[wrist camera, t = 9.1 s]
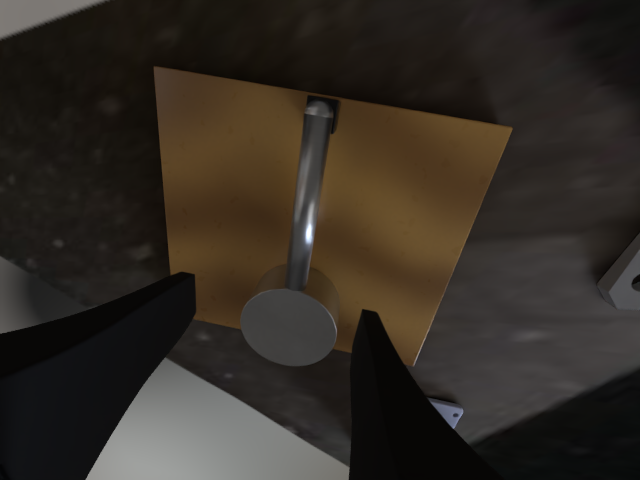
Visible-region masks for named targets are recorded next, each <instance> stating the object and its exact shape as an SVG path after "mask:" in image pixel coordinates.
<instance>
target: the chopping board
mask: <svg viewBox="0 0 640 480" xmlns="http://www.w3.org/2000/svg"><path fill="white" fill-rule="evenodd" d="M154 79H155V91H156V104H157V116H158V128H159V140H160V152H161V164H162V176H163V189H164V201H165V213H166V225H167V237H168V249H169V261H170V274H171V275H173V274H176V273H178V272H181V271H182V272H187V273H192V274H195V287H196V314H195V315H194V317H193V319H195V320H200V321H205V322H209V323H214V324H219V325H223V326H228V327H233V328H237V329H241V323H240V319H241V313H242V310H243V308H244V306H245V305H246V303H247V301H248V299H249V298H250V296H251V294H252V293H253V291H254V289H255V287H256V286H257V284H258V282H259V281H260V279H261V278H262V276H263V275H264V274H265V273H266V272H268V271H269V270H271V269H273V268H275V267H277V266H280V265H284V264H287V255H288V247H289V238H290V230H291V221H292V213H293V204H294V196H295V187H296V179H297V171H298V162H299V154H300V145H301V137H302V128H303V120H304V112H305V109H306V102H307V96H308V95H312V96H318V97H323V98H329V99H335V100H339V101H341V106H340V112H339V118H338V124H337V130H336V132H335V133H334V134H331V135H330V141H329V147H328V153H327V160H326V166H325V172H324V179H323V185H322V191H321V197H320V204H319V210H318V216H317V223H316V229H315V235H314V241H313V248H312V254H311V260H310V267H312V268H314V269H316V270H318V271H320V272H321V273H323V274H324V275H325V276H326V277H328V278H329V279H330V281H331V282H332V283H333V284H334V286H335V288H336V290H337V292H338V295H339V299H340V309H339V318H338V328H337V337H336V342H335V345H334V347H333V349H335V350H340V351H344V352H349V353H352V344H353V341H354V337H355V333H356V330H357V326H358V322H359V319H360V315H361V311H362V309H366V310H371V311H376V312H377V313H378V314H379V316H380V319H381V321H382V323H383V325H384V327H385V330H386V332H387V334H388V336H389V338H390V340H391V342H392V343H393V345H394V347H395V349H396V351H397V353H398V354H399V356H400V358H401V360H402V361H403V363H404V364H405V365H409V366H414V364H415V362H416V360H417V357H418V355H419V352H420V350H421V348H422V345H423V343H424V340H425V338H426V336H427V333H428V331H429V328H430V326H431V324H432V321H433V319H434V316H435V314H436V312H437V309H438V307H439V304H440V302H441V300H442V297H443V295H444V292H445V290H446V288H447V285H448V283H449V280H450V278H451V276H452V273H453V271H454V268H455V266H456V264H457V261H458V259H459V256H460V254H461V252H462V249H463V247H464V244H465V242H466V240H467V237H468V235H469V232H470V230H471V228H472V225H473V223H474V220H475V218H476V216H477V213H478V211H479V208H480V206H481V204H482V201H483V199H484V196H485V194H486V192H487V189H488V187H489V184H490V182H491V180H492V177H493V175H494V172H495V170H496V168H497V165H498V163H499V160H500V158H501V156H502V153H503V151H504V148H505V146H506V144H507V141H508V139H509V136H510V134H511V132H512V129H513V127H510V126H504V125H498V124H493V123H487V122H481V121H475V120H469V119H463V118H457V117H452V116H446V115H440V114H434V113H428V112H422V111H417V110H411V109H405V108H399V107H393V106H387V105H381V104H376V103H370V102H364V101H358V100H352V99H346V98H341V97H335V96H329V95H323V94H317V93H311V92H305V91H300V90H294V89H288V88H282V87H276V86H270V85H264V84H259V83H253V82H247V81H241V80H235V79H229V78H224V77H218V76H212V75H206V74H200V73H194V72H188V71H183V70H177V69H171V68H165V67H159V66H154Z"/></svg>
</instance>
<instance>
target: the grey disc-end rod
mask: <svg viewBox="0 0 640 480" xmlns="http://www.w3.org/2000/svg"><path fill="white" fill-rule="evenodd" d="M340 106H341V101H339V100H335V99H329V98H323V97H318V96H312V95H308V96H307V102H306V109H305V112H304V120H303V128H302V137H301V145H300V154H299V162H298V171H297V179H296V187H295V196H294V204H293V213H292V221H291V230H290V238H289V247H288V255H287V264H284V265H280V266H277V267H275V268H273V269H271V270H269V271H268V272H266V273H265V274H264V275H263V276H262V278H261V279H260V281H259V282H258V284H257V286H256V287H255V289H254V291H253V293H252V294H251V296H250V298H249V299H248V301H247V303H246V305H245V306H244V308H243V310H242V313H241V319H240V323H241V330H242V333H243V335H244V337H245V339H246V341H247V342H248V344H249V345H250V346H251V347H252V348H253V349H254V350H255V351H256V352H257V353H258V354H260V355H261V356H263V357H264V358H266V359H268V360H270V361H272V362H275V363H278V364H282V365H287V366H305V365H310V364H313V363H316V362H318V361H320V360H322V359H323V358H324V357H326V356H327V355H328V354H329V353H330V351H331V350H332V349H333V347H334V345H335V342H336V337H337V328H338V318H339V309H340V299H339V295H338V292H337V290H336V288H335V286H334V284H333V283H332V282H331V281H330V279H329V278H328V277H326V276H325V275H324V274H323V273H321V272H320V271H318V270H316V269H314V268H312V267H310V260H311V254H312V248H313V241H314V235H315V229H316V223H317V216H318V210H319V204H320V197H321V191H322V185H323V179H324V172H325V166H326V160H327V153H328V147H329V141H330V135H331V134H334V133H335V132H336V130H337V124H338V118H339V112H340Z"/></svg>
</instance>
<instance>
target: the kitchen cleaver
mask: <svg viewBox="0 0 640 480" xmlns="http://www.w3.org/2000/svg"><path fill="white" fill-rule="evenodd" d="M639 274H640V233H639V234H638V235H637V237H636V238H635V239H634V240H633V241H632V242H631V244H630V245H629V246H628V247H627V248H626V250H625V251H624V252H623V253H622V254H621V256H620V257H619V258H618V259H617V260H616V262H615V263H614V264H613V265H612V266H611V268H610V269H609V270H608V271H607V272H606V273H605V275H604V276H603V277H602V278H601V279H600V281H599V282H598V283H597V286H598V288H599V290H600V292H601V294H602V296H603V298H604V300H605V301H606V302H608V303H609V304H610V305H612V306H613V307H615V308H616V309H619V310H640V282H638V283H636V284H632V281H633V279H634V278H635V277H636V276H637V275H639ZM631 284H632V285H631Z"/></svg>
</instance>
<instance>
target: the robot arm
mask: <svg viewBox="0 0 640 480" xmlns="http://www.w3.org/2000/svg"><path fill="white" fill-rule="evenodd" d="M195 314H196V287H195V274H192V273H187V272H182V271H181V272H178V273H176V274H173V275H171V276H169V277H166V278H164V279H162V280H160V281H157V282H155V283H153V284H151V285H148V286H146V287H144V288H142V289H139V290H137V291H135V292H133V293H130V294H128V295H125V296H123V297H120V298H118V299H115V300H113V301H110V302H108V303H106V304H103V305H100V306H98V307H95V308H92V309H89V310H86V311H83V312H81V313H77V314H74V315H71V316H68V317H65V318H62V319H57V320H54V321H50V322H47V323H43V324H39V325H36V326H32V327H28V328H24V329H20V330H15V331H11V332H7V333H2V334H0V480H85V479H86V478H87V476H88V474H89V472H90V470H91V469H92V467H93V465H94V463H95V462H96V460H97V458H98V457H99V455H100V453H101V451H102V450H103V448H104V446H105V445H106V443H107V441H108V440H109V438H110V436H111V434H112V433H113V431H114V430H115V428H116V427H117V425H118V423H119V421H120V420H121V418H122V416H123V415H124V413H125V412H126V410H127V409H128V407H129V406H130V404H131V403H132V401H133V400H134V398H135V397H136V395H137V394H138V392H139V390H140V389H141V388H142V386H143V384H144V383H145V382H146V381H147V379H148V378H149V377H150V376H151V374H152V373H153V372H154V370H155V369H156V368H157V367H158V365H159V364H160V363H161V362H162V360H163V359H164V358H165V357H166V355H167V354H168V353H169V352H170V350H171V349H172V348H173V347H174V345H175V344H176V343H177V341H178V340H179V339H180V338H181V336H182V335H183V334H184V332H185V331H186V329H187V327H188V326H189V324H190V322H191V321H192V319H193V317H194V315H195ZM350 382H351V418H352V438H351V455H350V470H349V471H350V472H349V480H505V479H504V478H503V477H502V476H500V475H499V474H498V473H497V472H496V471H495V470H494V469H493V468H492V467H491V466H490V465H489V464H488V463H487V462H485V461H484V460H483V459H482V458H481V457H480V456H479V455H478V454H477V453H476V452H475V451H474V450H473V449H472V448H471V447H470V446H469V445H468V444H467V443H466V442H465V441H464V440H463V439H462V438H461V437H460V436H459V434H458V433H457V432H456V431H455V430H454V427H455V425H456V424H457V422H458V420H459V418H460V417H461V415H462V413H463V408H462V406H461V405H459V404H455V403H450V402H446V401H441V400H437V399H432V398H428V397H426V396H425V394H424V393H423V392H422V390H421V389H420V387H419V386H418V385H417V383H416V382H415V380H414V379H413V377H412V376H411V374H410V373H409V371H408V369H407V368H406V366H405V365H404V363H403V361H402V360H401V358H400V356H399V354H398V353H397V351H396V349H395V347H394V345H393V343H392V342H391V340H390V338H389V336H388V334H387V332H386V330H385V327H384V325H383V323H382V321H381V319H380V316H379V314H378V313H377V312H376V311H371V310H366V309H362V311H361V315H360V319H359V322H358V326H357V330H356V333H355V337H354V341H353V344H352V353H351V365H350Z"/></svg>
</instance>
